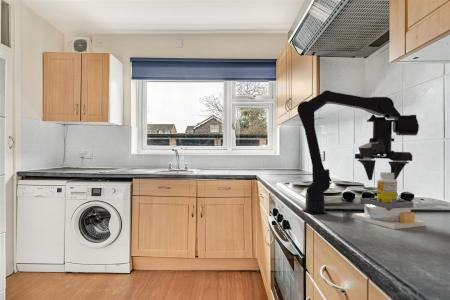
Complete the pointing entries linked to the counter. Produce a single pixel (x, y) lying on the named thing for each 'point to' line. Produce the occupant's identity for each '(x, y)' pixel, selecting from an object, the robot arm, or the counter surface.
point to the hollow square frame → (388, 210)
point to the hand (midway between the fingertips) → (381, 181)
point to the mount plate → (389, 224)
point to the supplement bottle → (387, 188)
